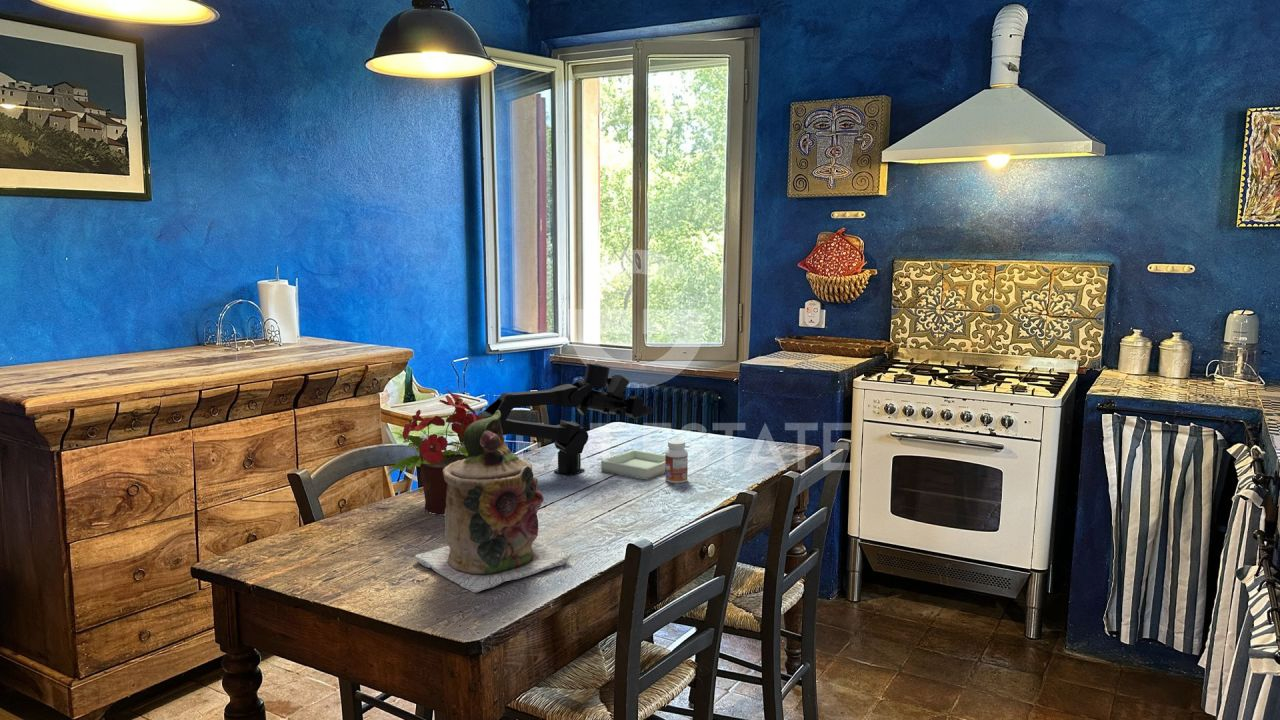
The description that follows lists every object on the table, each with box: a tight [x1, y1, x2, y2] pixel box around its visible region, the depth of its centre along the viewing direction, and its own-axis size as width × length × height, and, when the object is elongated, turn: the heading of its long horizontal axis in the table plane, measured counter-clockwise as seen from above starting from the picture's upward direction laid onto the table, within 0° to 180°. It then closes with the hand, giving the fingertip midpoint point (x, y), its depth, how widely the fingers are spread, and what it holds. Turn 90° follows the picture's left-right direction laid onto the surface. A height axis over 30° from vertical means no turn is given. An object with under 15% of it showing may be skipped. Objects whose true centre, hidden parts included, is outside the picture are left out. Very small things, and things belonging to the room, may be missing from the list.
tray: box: [600, 449, 665, 481], centre depth 258 cm, size 16×16×3 cm
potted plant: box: [386, 388, 484, 515], centre depth 224 cm, size 30×27×30 cm
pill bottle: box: [664, 439, 689, 484], centre depth 245 cm, size 6×6×11 cm
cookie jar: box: [414, 410, 573, 594], centre depth 184 cm, size 25×25×32 cm
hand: (644, 409), depth 266 cm, fingers open, 9 cm apart
